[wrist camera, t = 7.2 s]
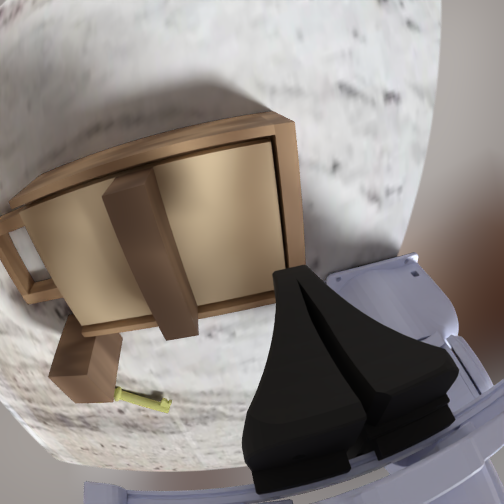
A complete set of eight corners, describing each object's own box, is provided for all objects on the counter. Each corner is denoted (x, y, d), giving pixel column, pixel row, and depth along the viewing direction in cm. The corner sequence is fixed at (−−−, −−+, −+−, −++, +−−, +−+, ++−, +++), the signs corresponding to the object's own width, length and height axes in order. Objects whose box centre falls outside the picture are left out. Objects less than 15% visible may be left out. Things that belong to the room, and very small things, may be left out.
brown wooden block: (103, 308, 23) (87, 374, 17) (122, 338, 25) (113, 402, 20) (68, 314, 23) (48, 376, 17) (88, 343, 25) (75, 403, 19)
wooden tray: (272, 111, 17) (294, 121, 13) (288, 256, 23) (306, 295, 19) (-14, 200, 16) (-45, 229, 12) (43, 306, 22) (26, 343, 18)
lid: (267, 138, 14) (284, 154, 12) (283, 279, 20) (297, 314, 17) (24, 206, 14) (-2, 233, 11) (84, 317, 19) (73, 352, 16)
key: (173, 400, 33) (173, 414, 31) (82, 392, 31) (79, 405, 29) (169, 368, 29) (168, 385, 28) (65, 359, 27) (61, 374, 25)
